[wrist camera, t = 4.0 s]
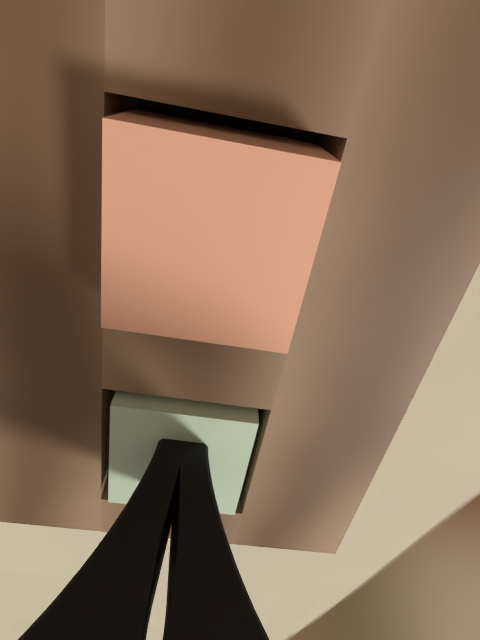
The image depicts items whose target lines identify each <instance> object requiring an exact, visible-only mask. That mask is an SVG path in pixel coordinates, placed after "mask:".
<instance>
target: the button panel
mask: <svg viewBox="0 0 480 640" xmlns="http://www.w3.org/2000/svg"><path fill="white" fill-rule="evenodd" d="M138 98H141V99H146V100H151V101H156V102H161V103H167V104H172V105H177V106H182V107H187V108H192V109H198V110H203V111H208V112H213V113H218V114H224V115H229V116H234V117H239V118H244V119H249V120H255V121H260V122H265V123H270V124H275V125H280V126H286V127H291V128H296V129H301V130H306V131H312V132H317V133H318V134H317V138H316V142H315V144H318V145H319V146H321V147H322V148H323V149H325V150H326V151H327V152H329V153H330V154H331V155H332V156H334V157H335V158H336V159H338V160H339V161H340V162H341V166H340V170H339V173H338V177H337V180H336V184H335V187H334V191H333V194H332V198H331V202H330V205H329V209H328V212H327V216H326V219H325V223H324V226H323V230H322V234H321V237H320V241H319V244H318V248H317V251H316V255H315V258H314V262H313V266H312V269H311V273H310V276H309V280H308V283H307V287H306V291H305V294H304V298H303V301H302V305H301V308H300V312H299V315H298V319H297V323H296V326H295V330H294V333H293V337H292V340H291V344H290V347H289V351H288V354H285V353H278V352H271V351H264V350H256V349H249V348H242V347H235V346H228V345H221V344H214V343H207V342H200V341H193V340H186V339H179V338H171V337H164V336H157V335H150V334H143V333H136V332H129V331H122V330H115V329H108V328H101V235H102V117H106V116H110V115H114V114H118V113H122V112H125V111H129V110H133V109H136V110H137V108H138ZM479 264H480V0H0V522H9V523H20V524H30V525H41V526H51V527H61V528H72V529H82V530H93V531H103V532H108V531H109V530H110V528H111V527H112V525H113V524H114V522H115V521H116V519H117V518H118V516H119V515H120V513H121V512H122V510H123V509H124V507H125V506H126V504H121V503H111V502H108V481H109V436H110V405H111V402H112V400H113V397H114V395H115V392H116V390H117V391H125V392H133V393H141V394H149V395H156V396H164V397H172V398H180V399H188V400H196V401H203V402H211V403H219V404H227V405H235V406H243V407H250V408H258V418H259V426H258V429H257V433H256V437H255V441H254V444H253V448H252V452H251V456H250V459H249V463H248V467H247V471H246V474H245V478H244V482H243V486H242V490H241V493H240V497H239V501H238V505H237V508H236V512H235V515H228V514H220V517H221V520H222V524H223V527H224V530H225V533H226V536H227V540H228V543H229V544H238V545H249V546H259V547H269V548H280V549H290V550H301V551H311V552H322V553H332V554H335V553H336V551H337V549H338V547H339V545H340V543H341V541H342V539H343V537H344V535H345V533H346V531H347V529H348V527H349V525H350V523H351V521H352V519H353V517H354V515H355V513H356V511H357V509H358V507H359V505H360V503H361V501H362V499H363V497H364V495H365V493H366V491H367V489H368V487H369V485H370V483H371V481H372V479H373V477H374V475H375V473H376V471H377V469H378V467H379V465H380V463H381V461H382V459H383V457H384V455H385V453H386V451H387V449H388V447H389V445H390V443H391V441H392V439H393V437H394V435H395V433H396V431H397V429H398V427H399V425H400V423H401V421H402V419H403V417H404V415H405V413H406V411H407V408H408V406H409V404H410V402H411V400H412V398H413V396H414V394H415V392H416V390H417V388H418V386H419V384H420V382H421V380H422V378H423V376H424V374H425V372H426V370H427V368H428V366H429V364H430V362H431V360H432V358H433V356H434V354H435V352H436V350H437V348H438V346H439V344H440V342H441V340H442V338H443V336H444V334H445V332H446V330H447V328H448V326H449V324H450V322H451V320H452V318H453V316H454V314H455V312H456V310H457V308H458V306H459V304H460V302H461V300H462V298H463V296H464V294H465V292H466V290H467V288H468V286H469V284H470V282H471V280H472V278H473V276H474V274H475V272H476V270H477V268H478V266H479ZM171 526H172V524H171ZM168 538H171V528H170V533H169V537H168Z"/></svg>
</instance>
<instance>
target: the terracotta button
mask: <svg viewBox="0 0 480 640" xmlns="http://www.w3.org/2000/svg"><path fill="white" fill-rule="evenodd" d="M340 166H341V162H340V161H339V160H338V159H336V158H335V157H334V156H332V155H331V154H330V153H329V152H327V151H326V150H325V149H323V148H322V147H321V146H319V145H318V144H315V143H309V142H304V141H299V140H294V139H288V138H283V137H278V136H273V135H267V134H262V133H257V132H252V131H246V130H241V129H236V128H231V127H225V126H220V125H215V124H210V123H204V122H199V121H194V120H189V119H183V118H178V117H173V116H168V115H162V114H157V113H152V112H147V111H141V110H136V109H133V110H129V111H125V112H122V113H118V114H114V115H110V116H106V117H102V235H101V328H108V329H115V330H122V331H129V332H136V333H143V334H150V335H157V336H164V337H171V338H179V339H186V340H193V341H200V342H207V343H214V344H221V345H228V346H235V347H242V348H249V349H256V350H264V351H271V352H278V353H285V354H288V351H289V347H290V344H291V340H292V337H293V333H294V330H295V326H296V323H297V319H298V315H299V312H300V308H301V305H302V301H303V298H304V294H305V291H306V287H307V283H308V280H309V276H310V273H311V269H312V266H313V262H314V258H315V255H316V251H317V248H318V244H319V241H320V237H321V234H322V230H323V226H324V223H325V219H326V216H327V212H328V209H329V205H330V202H331V198H332V194H333V191H334V187H335V184H336V180H337V177H338V173H339V170H340Z"/></svg>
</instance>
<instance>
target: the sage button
mask: <svg viewBox="0 0 480 640" xmlns="http://www.w3.org/2000/svg"><path fill="white" fill-rule="evenodd" d="M258 426H259V418H258V408H250V407H243V406H235V405H227V404H219V403H211V402H203V401H196V400H188V399H180V398H172V397H164V396H156V395H149V394H141V393H133V392H125V391H117V390H116V392H115V395H114V397H113V400H112V402H111V405H110V436H109V481H108V502H111V503H121V504H127V502H128V501H129V499H130V497H131V496H132V494H133V492H134V491H135V489H136V487H137V485H138V484H139V482H140V480H141V479H142V477H143V475H144V473H145V471H146V469H147V467H148V465H149V463H150V461H151V459H152V457H153V454H154V452H155V450H156V447H157V444H158V441H159V440H161V439H172V440H180V441H188V442H197V443H205V444H206V445H207V446H208V456H209V466H210V473H211V478H212V483H213V488H214V493H215V497H216V501H217V505H218V509H219V513H220V514H228V515H235V512H236V508H237V505H238V501H239V497H240V493H241V490H242V486H243V482H244V478H245V474H246V471H247V467H248V463H249V459H250V456H251V452H252V448H253V444H254V441H255V437H256V433H257V429H258Z"/></svg>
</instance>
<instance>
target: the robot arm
mask: <svg viewBox="0 0 480 640" xmlns="http://www.w3.org/2000/svg"><path fill="white" fill-rule="evenodd" d="M171 524H172V526H171ZM170 528H171V541H170V557H169V573H168V590H167V606H166V617H165V627H164V635H163V640H269V638H268V636H267V634H266V632H265V630H264V628H263V626H262V624H261V622H260V620H259V617H258V615H257V613H256V611H255V609H254V607H253V605H252V602H251V600H250V598H249V595H248V593H247V591H246V588H245V586H244V583H243V581H242V578H241V576H240V573H239V571H238V568H237V566H236V563H235V560H234V557H233V554H232V552H231V549H230V546H229V543H228V540H227V536H226V533H225V530H224V527H223V524H222V520H221V517H220V513H219V509H218V505H217V501H216V497H215V493H214V488H213V483H212V478H211V473H210V466H209V456H208V446H207V445H206V444H205V443H197V442H188V441H180V440H172V439H161V440H159V441H158V444H157V447H156V450H155V452H154V454H153V457H152V459H151V461H150V463H149V465H148V467H147V469H146V471H145V473H144V475H143V477H142V479H141V480H140V482H139V484H138V485H137V487H136V489H135V491H134V492H133V494H132V496H131V497H130V499H129V501H128V502H127V504H126V506H125V507H124V509H123V510H122V512H121V513H120V515H119V516H118V518H117V519H116V521H115V522H114V524H113V525H112V527H111V528H110V530H109V531H108V533H107V534H106V535H105V537H104V538H103V540H102V541H101V542H100V544H99V545H98V546H97V548H96V549H95V550H94V552H93V553H92V554H91V556H90V557H89V558H88V560H87V561H86V562H85V563H84V565H83V566H82V567H81V569H80V570H79V571H78V572H77V573H76V575H75V576H74V577H73V578H72V580H71V581H70V582H69V583H68V584H67V586H66V587H65V588H64V589H63V590H62V592H61V593H60V594H59V595H58V596H57V598H56V599H55V600H54V601H53V602H52V603H51V604H50V606H49V607H48V608H47V609H46V610H45V611H44V612H43V613H42V614H41V615H40V617H39V618H38V619H37V620H36V621H35V622H34V623H33V624H32V625H31V626H30V627H29V628H28V630H27V631H26V632H25V633H24V634H23V635H22V636H21V637H20V638H19V639H18V640H146V634H147V628H148V623H149V618H150V613H151V608H152V604H153V600H154V595H155V591H156V587H157V583H158V579H159V574H160V570H161V566H162V562H163V558H164V554H165V549H166V545H167V541H168V537H169V533H170Z"/></svg>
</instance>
